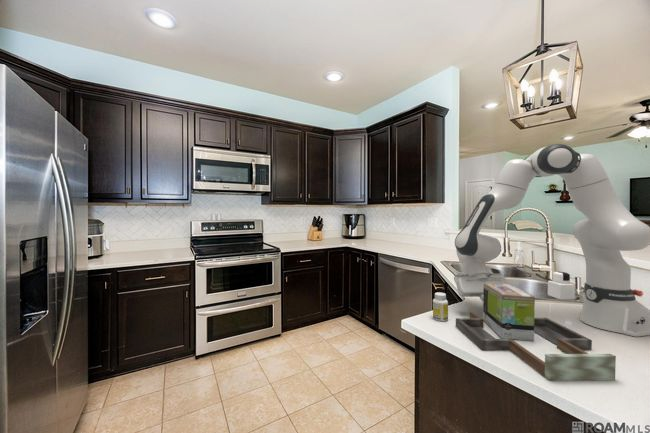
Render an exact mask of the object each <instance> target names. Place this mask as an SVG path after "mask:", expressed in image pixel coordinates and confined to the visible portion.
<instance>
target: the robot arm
mask: <svg viewBox="0 0 650 433" xmlns="http://www.w3.org/2000/svg"><path fill="white" fill-rule="evenodd" d="M501 168H502V169H501V171H500V172H499V174H498V176H497V178H495V179H496V180H495V182H494V184H493V186H492V187H491V190H490V191H489V192H488V193H486V194H485V195H483V196H482V197H481V198H480V199H479V201H478V202H477V204H476V205H475V207H474V209H473V211H472V212H471V214H470V216H469V218H468V219H467V220H466V222H465V224H464V226H463V228H462V229H461V230H460V231H459V232H458V233H457V235H456V236H455V239H454V246H455V251H456V256H457V258H458V260H459V263H460V264H461V266H462V269H463V272H464V274H458V273H457V274H456V275H454V276H453V280H454V282H455V284H456V290H457V292H458V296H460V297H462V298H464V297H465V298H467V297H468V298H469V297H477V298H478V297H479V299H480V300H481V301H482V302H483V301H484V300H483V299H484V283H493V284H510V282H509V281H508V279H507V278H506V277H505V276H503V271H502V270H500V269H497V268H494V267H490V266H487V265H486V263H488V262H491V261H492V260H495V259H497V257H499V256H500V254H501V252H502V244H501V242H500V240H499V239H498V238H496V237H492V236H490V235H485V234H481V233H480V231H481V229H482V228H483V227H484V224H485V223H486V221H487V219H488V218H489V216H491V214H494V213H495V212H497V211H505V210H510V209H513V208H516V207H518V206H519V205H520V204H521V202H522V201H523V200H524V198H525V195H526V194H527V191H528V189H529V185H530V183H531V182H532V180H534V179H535V178H542V177H546V178H547V177H553V176H555V175H558V177H559V176H560V178H562V179H563V180H562V181H564V183H565V186H566V188H567V191H568V193H569V196H570V198H571V200H572V203H573V205H574V207H575V208H576V210H577V211H578V212H581V214H583V215H584V216H585V217H586V218H585V219H580V220H579V221H577V222H575V224H574V226H573V227H572V228H573V229H572V235H573V236H574V238H575V239H576V240H577V241H578V242H579V245H580V247H581V251H582V253H583V257H584V260H585V283H584V285H583V292H584V297H583V302H582V308H581V311H580V312H579V317H578V319H579V320H580V321H581V322H582V323H585V324H586V325H589V326H591V327H594V328H598V329H601V330H605V331H609V332H614V333H619V334H623V335H627V336H632V337H637V338H638V337H644V336H645V337H646V336H650V309H649V308H648V307H647V306H645V305H643V304H642V303H641V302H639V301H638V300H637V299H636V296H637V297H642V296H644V292H643V291H642V290H638V289H632V288H631V284H632V283H631V278H632V277H631V276H632V272H631V271H632V269H631V266H630V264H629V263H628V262H627V261H626V260H625V259H624V257H623V256H622V253H621V252H627V251H630V252H631V251H639V250H643V249H647V247H649V246H650V226H649V225H648V224H646V223H645V222H643V221H641V220H639V219H638V218H636V217H635V216H634V215H633V214H632V213H631V212H630V210H629V209H628V208H626V207H625V205H624V204H623V203H622V201H621V200H620V199H619V197H618V196H617V193H616V191H615V190H614V187H613V185H612V183H611V181H610V178H609V176H608V174H607V171H606V170H605V168H604V166H602V163H601V162H600V161H599V160H598V159H597V157H596V156H595V155H594V154H591V153H578V152H577V151H576V150H574V149H573V148H572V147H571V146H569V145H567V144H564V143H555V144H549V145H547V146H544V147H541V148H539V149H537V150H536V151H534V152H531V154H529V155H528V156H526V157H525V158H524V159H521V158H515V159H510V160H509V161H507V162H506V163H505V164H504V166H503V167H501Z"/></svg>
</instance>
